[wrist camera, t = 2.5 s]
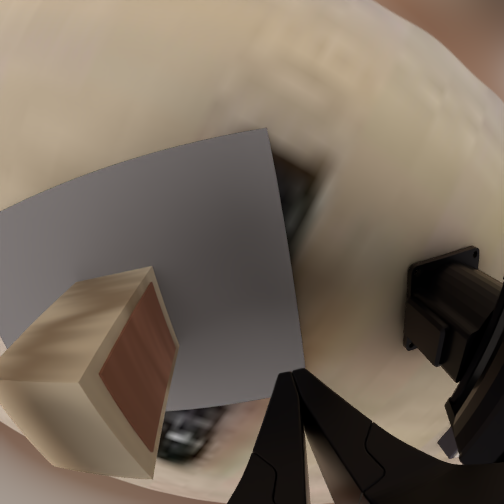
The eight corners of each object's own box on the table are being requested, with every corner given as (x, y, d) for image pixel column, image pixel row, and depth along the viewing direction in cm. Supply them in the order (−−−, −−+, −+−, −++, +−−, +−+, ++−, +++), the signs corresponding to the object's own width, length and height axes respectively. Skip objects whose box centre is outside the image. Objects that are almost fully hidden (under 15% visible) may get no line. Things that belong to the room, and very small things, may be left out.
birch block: (153, 265, 15) (80, 382, 6) (181, 345, 16) (155, 479, 7) (75, 282, 14) (-18, 377, 6) (107, 354, 16) (53, 465, 7)
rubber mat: (265, 128, 13) (266, 127, 13) (306, 385, 18) (307, 388, 18) (-35, 231, 13) (-38, 232, 13) (46, 406, 18) (45, 409, 17)
